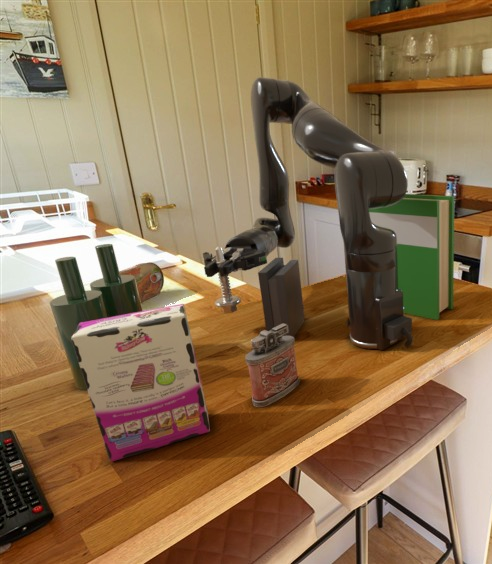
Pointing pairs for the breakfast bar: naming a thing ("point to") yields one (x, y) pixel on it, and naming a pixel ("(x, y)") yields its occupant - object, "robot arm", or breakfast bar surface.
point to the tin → (146, 279)
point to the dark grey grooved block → (282, 295)
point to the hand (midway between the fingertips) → (214, 271)
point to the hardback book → (422, 250)
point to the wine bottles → (91, 301)
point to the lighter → (272, 366)
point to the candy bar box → (142, 379)
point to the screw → (225, 288)
